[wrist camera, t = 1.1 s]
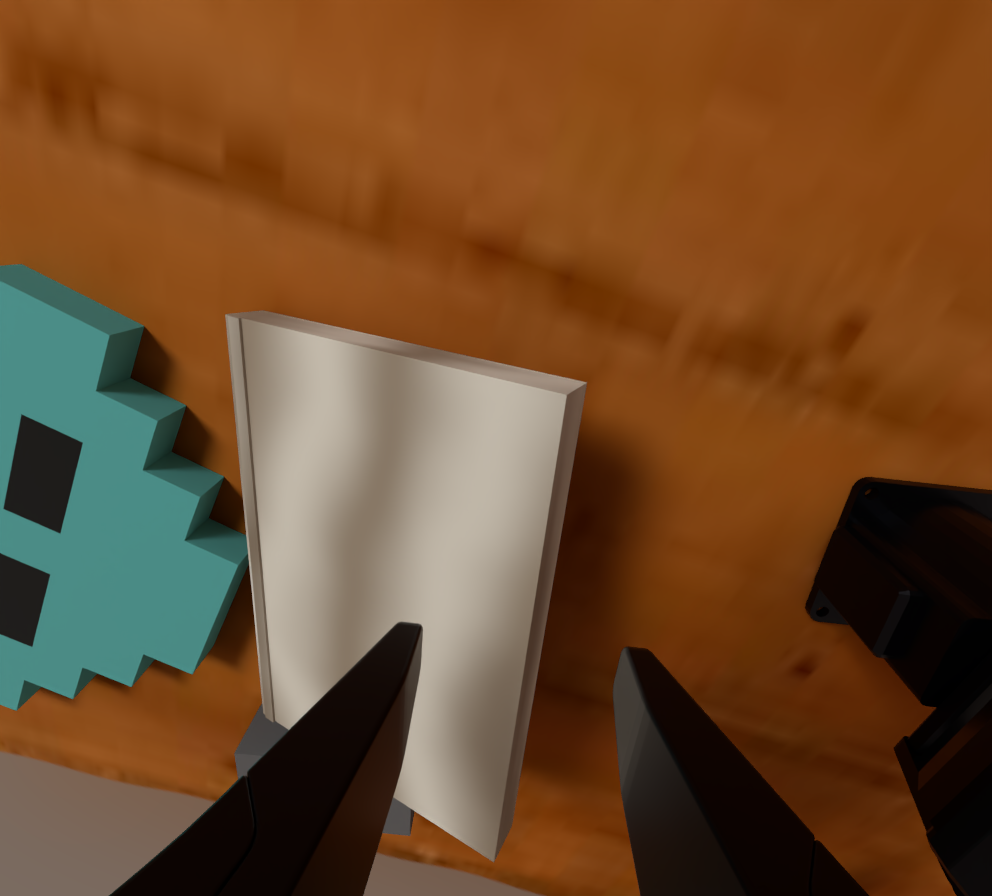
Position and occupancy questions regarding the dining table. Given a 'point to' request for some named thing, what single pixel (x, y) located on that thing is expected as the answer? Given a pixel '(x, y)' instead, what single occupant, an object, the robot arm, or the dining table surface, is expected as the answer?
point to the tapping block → (268, 733)
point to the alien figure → (97, 505)
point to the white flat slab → (405, 539)
